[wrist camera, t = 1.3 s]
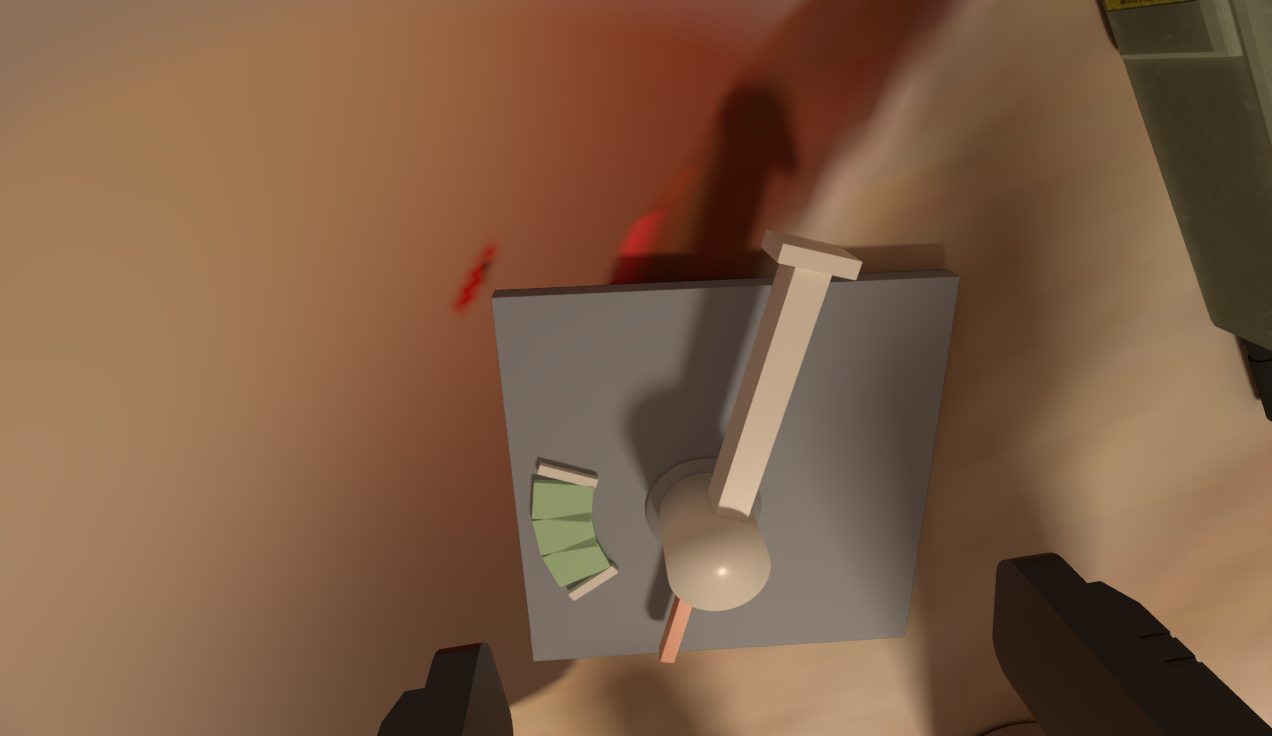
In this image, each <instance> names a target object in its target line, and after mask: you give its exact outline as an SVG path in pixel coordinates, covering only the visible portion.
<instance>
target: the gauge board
mask: <svg viewBox="0 0 1272 736" xmlns="http://www.w3.org/2000/svg"><path fill="white" fill-rule="evenodd" d="M774 278H775V277H774ZM774 278H752V279H730V280H708V281H686V282H664V283H642V284H620V285H597V286H576V287H554V288H533V289H510V290H495V291H494V293H493V295H492V297H491V300H492V309H493V318H494V326H495V334H496V343H497V351H498V360H499V369H500V377H501V385H502V394H503V403H504V411H505V419H506V428H507V437H508V445H509V454H510V462H511V470H512V479H513V488H514V496H515V505H516V513H517V521H518V530H519V539H520V547H521V555H522V564H523V573H524V581H525V589H526V598H527V607H528V615H529V623H530V631H531V641H532V649H533V658H534V661H543V660H559V659H575V658H590V657H606V656H621V655H637V654H653V653H659V646H660V643H661V639H662V636H663V633H664V630H665V627H666V624H667V620H668V617H669V614H670V611H671V608H672V604H673V601H674V598H675V594H674V592H673V590H672V589H671V587H670V585H669V581H668V577H667V570H666V563H665V556H664V548H663V541H662V534H661V527H660V520H659V509H660V505H661V502H662V500H663V498H664V496H665V494H666V493H667V492H668V490H669V489H670V488H671V487H672V486H674V485H675V484H676V483H677V482H679V481H681V480H682V479H684V478H686V477H689V476H692V475H696V474H701V473H713V472H714V469H715V466H716V463H717V459H718V456H719V453H720V450H721V447H722V443H723V440H724V437H725V434H726V431H727V428H728V424H729V421H730V418H731V415H732V412H733V409H734V405H735V402H736V399H737V396H738V393H739V389H740V386H741V383H742V380H743V377H744V374H745V370H746V367H747V364H748V361H749V358H750V355H751V351H752V348H753V345H754V342H755V339H756V335H757V332H758V329H759V326H760V323H761V320H762V316H763V313H764V310H765V307H766V304H767V301H768V297H769V294H770V291H771V288H772V285H773V281H774ZM959 280H960V276H958V275H956V274H954V273H952V272H950V271H948V270H929V271H907V272H885V273H863V274H858V276H857V279H856V280H852V279H847V278H843V277H838V276H834V275H832V277H831V280H830V283H829V286H828V288H827V291H826V294H825V297H824V300H823V303H822V306H821V309H820V312H819V314H818V317H817V320H816V323H815V326H814V329H813V332H812V335H811V338H810V340H809V343H808V346H807V349H806V352H805V355H804V358H803V361H802V364H801V366H800V369H799V372H798V375H797V378H796V381H795V384H794V387H793V390H792V392H791V395H790V398H789V401H788V404H787V407H786V410H785V413H784V416H783V418H782V421H781V424H780V427H779V430H778V433H777V436H776V439H775V442H774V444H773V447H772V450H771V453H770V456H769V459H768V462H767V465H766V468H765V470H764V473H763V476H762V479H761V482H760V485H759V488H758V491H757V494H756V496H755V499H754V502H753V505H752V509H753V512H754V515H755V518H756V520H757V523H758V526H759V528H760V531H761V534H762V537H763V539H764V542H765V545H766V548H767V550H768V553H769V556H770V561H771V569H770V574H769V578H768V580H767V582H766V584H765V585H764V587H763V589H762V590H761V591H760V592H759V593H758V594H757V595H756V596H755V597H754V598H752V599H751V600H750V601H748V602H746V603H745V604H743V605H741V606H738V607H736V608H733V609H728V610H723V611H706V610H701V609H697V608H694V607H692V610H691V613H690V616H689V619H688V622H687V625H686V628H685V631H684V634H683V637H682V640H681V643H680V646H679V649H678V652H684V651H699V650H715V649H731V648H746V647H762V646H777V645H793V644H809V643H824V642H840V641H855V640H871V639H887V638H902V637H905V635H906V628H907V622H908V615H909V609H910V602H911V595H912V589H913V582H914V576H915V569H916V563H917V556H918V550H919V543H920V536H921V530H922V523H923V517H924V510H925V504H926V497H927V490H928V484H929V477H930V471H931V464H932V458H933V451H934V445H935V438H936V431H937V425H938V418H939V412H940V405H941V399H942V392H943V385H944V379H945V372H946V366H947V359H948V353H949V346H950V340H951V333H952V326H953V320H954V313H955V307H956V300H957V294H958V287H959Z"/></svg>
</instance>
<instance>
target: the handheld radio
mask: <svg viewBox="0 0 1272 736" xmlns="http://www.w3.org/2000/svg"><path fill="white" fill-rule="evenodd" d="M1102 2H1103V5H1104V8H1105V11H1106V14H1107V17H1108V20H1109V23H1110V26H1111V29H1112V31H1113V34H1114V37H1115V40H1116V43H1117V46H1118V49H1119V52H1120V55H1121V58H1122V59H1123V60H1124V63H1125V66H1126V69H1127V72H1128V75H1129V77H1130V80H1131V83H1132V86H1133V89H1134V92H1135V95H1136V98H1137V101H1138V104H1139V107H1140V110H1141V113H1142V116H1143V119H1144V122H1145V125H1146V128H1147V131H1148V134H1149V137H1150V140H1151V143H1152V146H1153V149H1154V152H1155V155H1156V158H1157V160H1158V163H1159V166H1160V169H1161V172H1162V175H1163V178H1164V181H1165V184H1166V187H1167V190H1168V193H1169V196H1170V199H1171V202H1172V205H1173V208H1174V211H1175V214H1176V217H1177V220H1178V223H1179V226H1180V229H1181V232H1182V235H1183V238H1184V241H1185V243H1186V246H1187V249H1188V252H1189V255H1190V258H1191V261H1192V264H1193V267H1194V270H1195V273H1196V276H1197V279H1198V282H1199V285H1200V288H1201V291H1202V294H1203V297H1204V300H1205V303H1206V306H1207V309H1208V312H1209V315H1210V318H1211V320H1212V322H1213V324H1214V325H1215V326H1216V327H1218V328H1221V329H1223V330H1225V331H1228V332H1230V333H1232V334H1235V335H1237V336H1239V337H1241V339H1242V342H1243V344H1244V345H1245V346H1246V347H1247V350H1248V353H1249V355H1248V359H1249V363H1250V366H1251V369H1252V372H1253V375H1254V379H1255V382H1256V385H1257V388H1258V391H1259V395H1260V398H1261V401H1262V404H1263V407H1264V411H1265V414H1266V417H1267V419H1268V420H1270V421H1272V0H1102Z"/></svg>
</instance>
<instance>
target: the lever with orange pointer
mask: <svg viewBox="0 0 1272 736" xmlns="http://www.w3.org/2000/svg"><path fill="white" fill-rule="evenodd" d="M761 247H762V248H763V249H764V250H765V251H766V252H767V253H768V254H769V255H770V256H771V257H772V258H773V259H774V260H775V261H776V262H777V263H779V266H778V269H777V272H776V275H775V278H774V281H773V285H772V288H771V291H770V294H769V297H768V301H767V304H766V307H765V310H764V313H763V316H762V320H761V323H760V326H759V329H758V332H757V335H756V339H755V342H754V345H753V348H752V351H751V355H750V358H749V361H748V364H747V367H746V370H745V374H744V377H743V380H742V383H741V386H740V389H739V393H738V396H737V399H736V402H735V405H734V409H733V412H732V415H731V418H730V421H729V424H728V428H727V431H726V434H725V437H724V440H723V443H722V447H721V450H720V453H719V456H718V459H717V463H716V466H715V469H714V472H713V473H701V474H696V475H692V476H689V477H686V478H684V479H682V480H681V481H679V482H677V483H676V484H675V485H674V486H672V487H671V488H670V489H669V490H668V492H667V493H666V494H665V496H664V498H663V500H662V502H661V505H660V509H659V520H660V527H661V534H662V541H663V548H664V556H665V563H666V570H667V577H668V581H669V585H670V587H671V589H672V590H673V592H674V594H675V598H674V601H673V604H672V608H671V611H670V614H669V617H668V620H667V624H666V627H665V630H664V633H663V636H662V639H661V643H660V646H659V654H660V661H661V662H668V663H674V661H675V658H676V655H677V652H678V649H679V646H680V643H681V640H682V637H683V634H684V631H685V628H686V625H687V622H688V619H689V616H690V613H691V610H692V607H694V608H697V609H701V610H706V611H723V610H728V609H733V608H736V607H738V606H741V605H743V604H745V603H746V602H748V601H750V600H751V599H752V598H754V597H755V596H756V595H757V594H758V593H759V592H760V591H761V590H762V589H763V587H764V585H765V584H766V582H767V580H768V578H769V574H770V569H771V561H770V556H769V553H768V550H767V548H766V545H765V542H764V539H763V537H762V534H761V531H760V528H759V526H758V523H757V520H756V518H755V515H754V512H753V509H752V505H753V502H754V499H755V496H756V494H757V491H758V488H759V485H760V482H761V479H762V476H763V473H764V470H765V468H766V465H767V462H768V459H769V456H770V453H771V450H772V447H773V444H774V442H775V439H776V436H777V433H778V430H779V427H780V424H781V421H782V418H783V416H784V413H785V410H786V407H787V404H788V401H789V398H790V395H791V392H792V390H793V387H794V384H795V381H796V378H797V375H798V372H799V369H800V366H801V364H802V361H803V358H804V355H805V352H806V349H807V346H808V343H809V340H810V338H811V335H812V332H813V329H814V326H815V323H816V320H817V317H818V314H819V312H820V309H821V306H822V303H823V300H824V297H825V294H826V291H827V288H828V286H829V283H830V280H831V277H832V275H834V276H838V277H843V278H847V279H852V280H856V279H857V276H858V273H859V271H860V268H861V265H862V261H861V260H859V259H858V258H856V257H855V256H853V255H852V254H850V253H849V252H847V251H845V250H844V249H842V248H841V247H839V246H836V245H832V244H827V243H823V242H819V241H814V240H810V239H806V238H801V237H797V236H793V235H788V234H784V233H780V232H775V231H771V230H766V233H765V236H764V239H763V243H762V246H761Z"/></svg>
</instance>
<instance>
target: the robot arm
mask: <svg viewBox="0 0 1272 736" xmlns="http://www.w3.org/2000/svg"><path fill="white" fill-rule="evenodd" d="M993 643H994V648H995V652H996V655H997V658H998V661H999V663H1000V666H1001V668H1002V670H1003V672H1004V674H1005V676H1006V677H1007V679H1008V680H1009V682H1010V683H1011V685H1012V686H1013V687H1014V689H1015V690H1016V692H1017V693H1018V695H1019V696H1020V697H1021V699H1022V700H1023V702H1024V703H1025V705H1026V706H1027V708H1028V709H1029V710H1030V712H1031V713H1032V715H1033V716H1034V718H1035V719H1036V720H1037V722H1038V723H1024V724H1017V725H1011V726H1008V727H1005V728H1001V729H998V730H995V731H993V732H991V733H989V734H986V735H984V736H1272V728H1271V727H1270V726H1269V725H1268V724H1267V723H1266V722H1265V721H1264V720H1262V719H1261V718H1260V717H1259V716H1258V715H1257V714H1256V713H1255V712H1254V711H1253V710H1252V709H1251V708H1250V707H1249V706H1248V705H1247V704H1246V703H1245V702H1244V701H1242V700H1241V699H1240V698H1239V697H1238V696H1237V695H1236V694H1235V693H1234V692H1233V691H1232V690H1231V689H1230V688H1229V687H1228V686H1227V685H1226V684H1225V683H1223V682H1222V681H1221V680H1220V679H1219V678H1218V677H1217V676H1216V675H1215V674H1214V673H1213V672H1212V671H1211V670H1210V669H1209V668H1208V667H1207V666H1206V665H1205V664H1203V663H1202V662H1198V661H1197V660H1196V658H1195V655H1194V654H1193V653H1192V652H1191V651H1190V650H1189V649H1188V648H1187V647H1186V646H1184V645H1183V644H1182V643H1181V642H1180V641H1179V640H1178V639H1177V638H1176V637H1175V638H1172V637H1171V635H1170V631H1169V630H1168V629H1167V628H1166V627H1164V626H1163V625H1162V624H1161V623H1160V622H1159V621H1158V620H1157V619H1156V618H1155V617H1154V616H1153V615H1152V614H1151V613H1150V612H1149V611H1148V610H1147V609H1145V608H1144V607H1143V606H1142V605H1141V604H1140V603H1139V602H1137V601H1135V600H1133V599H1132V598H1130V597H1128V596H1126V595H1124V594H1123V593H1121V592H1119V591H1117V590H1116V589H1114V588H1112V587H1110V586H1108V585H1107V584H1105V583H1103V582H1101V581H1098V582H1091V583H1086V582H1085V581H1084V579H1083V578H1082V577H1081V576H1080V575H1079V574H1078V573H1077V572H1076V571H1075V570H1074V569H1073V568H1072V567H1071V566H1070V565H1069V564H1068V563H1067V562H1066V561H1065V560H1064V559H1063V558H1061V557H1060V556H1059V555H1057V554H1055V553H1051V552H1049V553H1043V554H1037V555H1030V556H1024V557H1018V558H1012V559H1006V560H1002V561H1000V562H999V564H998V567H997V572H996V588H995V603H994V619H993ZM377 736H513V725H512V718H511V713H510V709H509V706H508V702H507V699H506V696H505V693H504V690H503V687H502V683H501V680H500V677H499V674H498V670H497V667H496V664H495V661H494V658H493V654H492V651H491V649H490V646H489V645H488V643H486V642H482V643H476V644H469V645H463V646H457V647H451V648H445V649H439V650H438V651H437V652H436V653H435V655H434V658H433V661H432V664H431V668H430V671H429V675H428V678H427V682H426V686H425V688H422V689H416V690H410V691H405V692H404V693H403V694H402V696H401V697H400V699H399V700H398V701H397V703H396V704H395V705H394V707H393V708H392V709H391V711H390V712H389V713H388V715H387V716H386V718H385V719H384V720H383V722H382V723H381V726H380V729H379V732H378V735H377Z"/></svg>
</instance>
